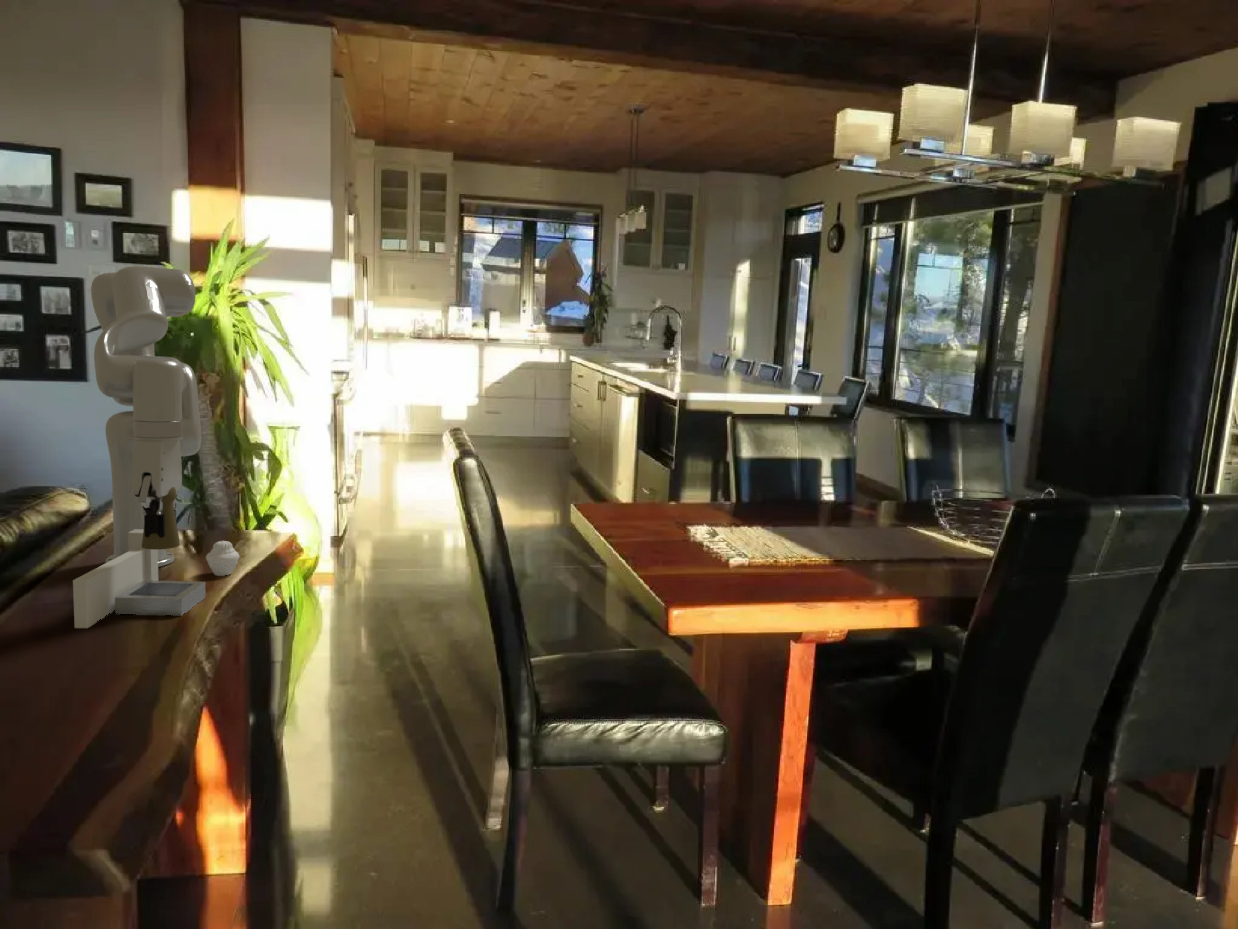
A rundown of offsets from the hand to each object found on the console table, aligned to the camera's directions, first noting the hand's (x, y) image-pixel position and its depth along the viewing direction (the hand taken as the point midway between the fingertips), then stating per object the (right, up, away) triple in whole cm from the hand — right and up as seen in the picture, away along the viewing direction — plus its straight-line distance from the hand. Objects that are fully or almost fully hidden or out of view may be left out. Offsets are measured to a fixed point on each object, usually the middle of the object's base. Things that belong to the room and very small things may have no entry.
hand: (160, 533), depth 159 cm
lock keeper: (-1, -13, +2) cm, 13 cm away
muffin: (+1, -10, +24) cm, 26 cm away
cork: (0, -2, 0) cm, 2 cm away
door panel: (-8, -13, +1) cm, 15 cm away
